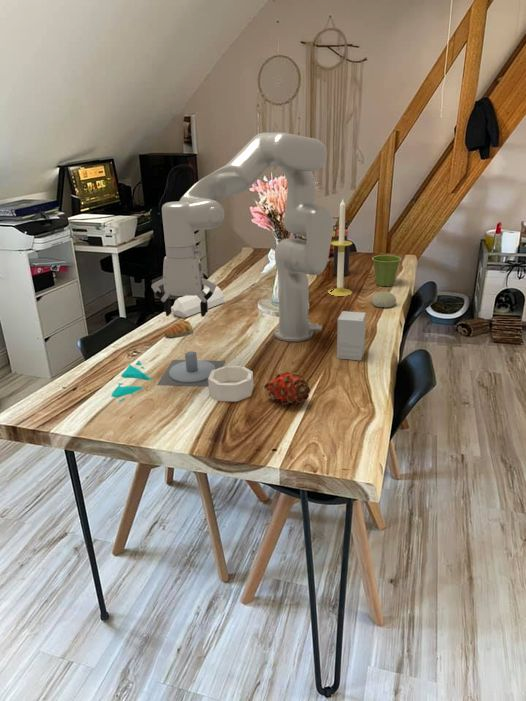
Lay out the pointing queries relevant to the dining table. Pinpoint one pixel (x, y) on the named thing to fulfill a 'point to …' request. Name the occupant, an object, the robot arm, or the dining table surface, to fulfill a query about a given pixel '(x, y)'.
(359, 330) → the supplement box
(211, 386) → the bowl
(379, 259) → the plant pot
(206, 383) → the mat
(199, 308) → the crystal
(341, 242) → the candle
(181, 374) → the lid
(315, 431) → the dining table surface
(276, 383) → the dragon fruit
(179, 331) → the pastry
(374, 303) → the sea urchin shell
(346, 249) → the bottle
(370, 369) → the dining table surface
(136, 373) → the cloth
